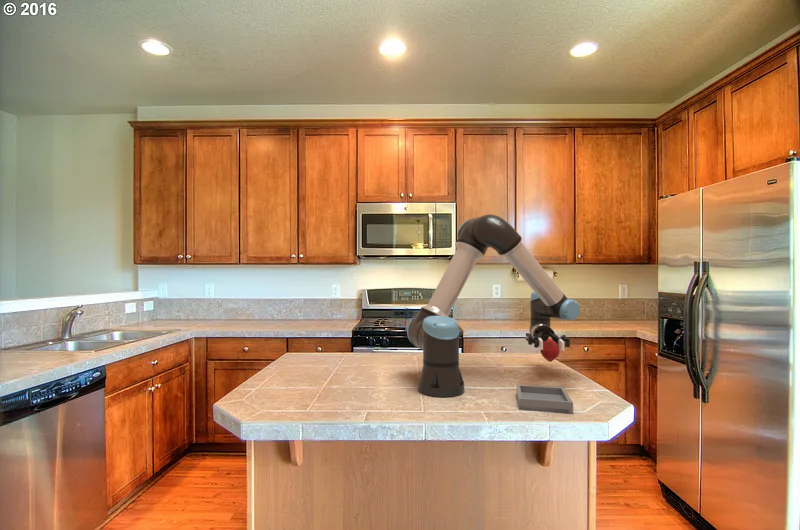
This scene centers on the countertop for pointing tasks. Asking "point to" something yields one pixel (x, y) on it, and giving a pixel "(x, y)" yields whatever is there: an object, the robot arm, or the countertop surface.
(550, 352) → the onion
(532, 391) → the bin
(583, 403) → the countertop surface
